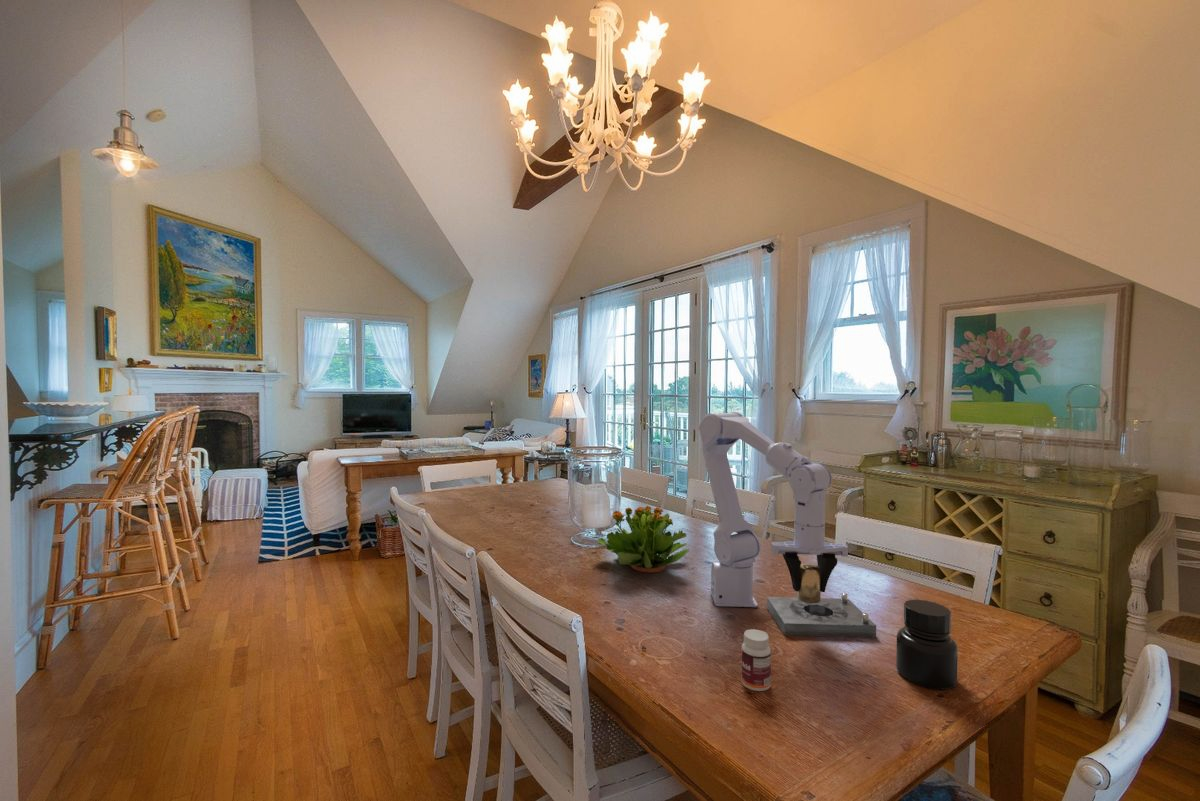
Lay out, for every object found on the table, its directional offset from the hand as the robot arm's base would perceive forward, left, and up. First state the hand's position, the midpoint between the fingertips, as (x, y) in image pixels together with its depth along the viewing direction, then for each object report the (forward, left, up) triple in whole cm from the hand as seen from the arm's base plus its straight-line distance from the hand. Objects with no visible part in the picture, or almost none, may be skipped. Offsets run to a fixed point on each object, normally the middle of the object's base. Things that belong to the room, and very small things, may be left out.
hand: (808, 589), depth 104 cm
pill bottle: (-15, -19, -9) cm, 26 cm away
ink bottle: (+15, -15, -9) cm, 23 cm away
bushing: (0, 0, -2) cm, 2 cm away
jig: (+4, +5, -9) cm, 11 cm away
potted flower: (-30, +36, -9) cm, 48 cm away
